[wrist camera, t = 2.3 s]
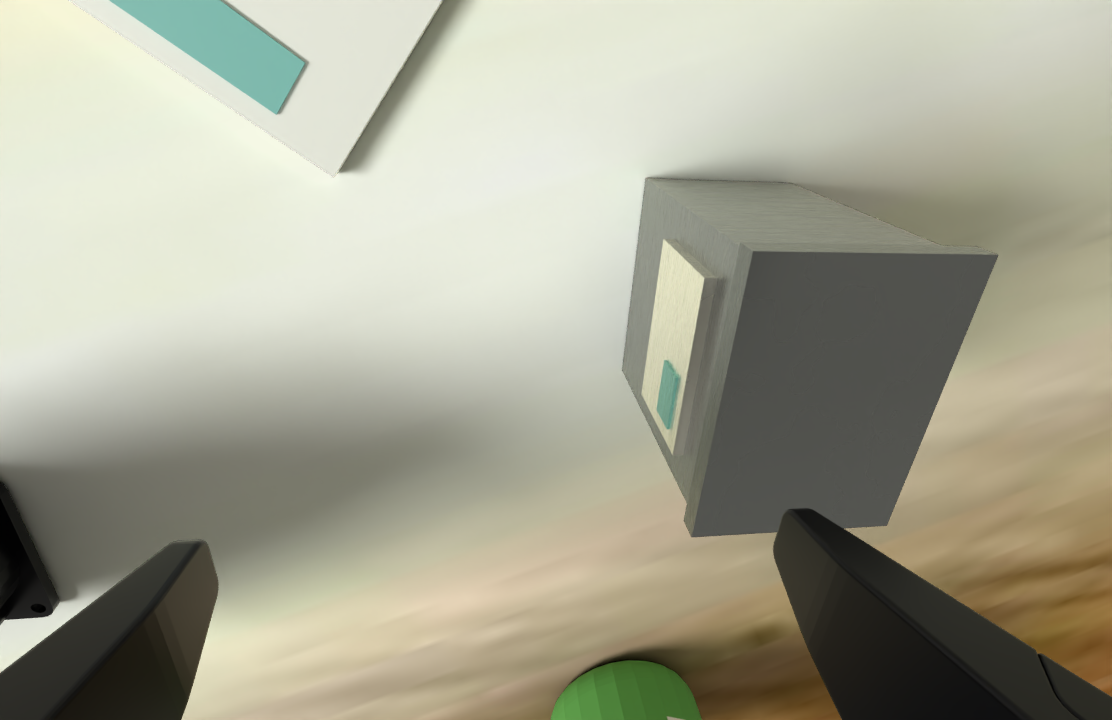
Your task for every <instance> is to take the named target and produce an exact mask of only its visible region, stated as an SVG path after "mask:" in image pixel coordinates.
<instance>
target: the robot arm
mask: <svg viewBox="0 0 1112 720" xmlns="http://www.w3.org/2000/svg"><path fill="white" fill-rule="evenodd" d="M773 553H774V559H775V562H776V565H777V567H778V570H779V573H780V576H781V578H782V581H783V584H784V587H785V589H786V592H787V595H788V597H789V600H790V603H791V606H792V608H793V611H794V614H795V617H796V619H797V622H798V625H799V627H800V630H801V633H802V635H803V638H804V640H805V643H806V645H807V648H808V650H809V652H810V654H811V656H812V659H813V661H814V663H815V665H816V667H817V669H818V671H819V673H820V675H821V677H822V679H823V681H824V683H825V686H826V688H827V690H828V692H829V694H830V696H831V698H832V700H833V702H834V704H835V706H836V708H837V710H838V712H839V714H840V717H841V719H842V720H1112V697H1111V696H1109V695H1108V694H1106V693H1105V692H1103V691H1101V690H1100V689H1098V688H1096V687H1095V686H1093V685H1092V684H1090V683H1088V682H1087V681H1085V680H1083V679H1082V678H1080V677H1078V676H1077V675H1075V674H1074V673H1072V672H1070V671H1069V670H1067V669H1066V668H1064V667H1062V666H1061V665H1059V664H1058V663H1056V662H1054V661H1053V660H1051V659H1050V658H1048V657H1047V656H1045V655H1043V654H1041V653H1040V654H1037V652H1036V650H1035V649H1034V648H1032V647H1030V646H1029V645H1027V644H1026V643H1024V642H1023V641H1021V640H1019V639H1018V638H1016V637H1015V636H1013V635H1011V634H1010V633H1008V632H1007V631H1005V630H1003V629H1002V628H1000V627H999V626H997V625H996V624H994V623H992V622H991V621H989V620H988V619H986V618H984V617H983V616H981V615H980V614H978V613H977V612H975V611H973V610H972V609H970V608H969V607H967V606H965V605H964V604H962V603H961V602H959V601H957V600H956V599H954V598H953V597H951V596H950V595H948V594H946V593H945V592H943V591H942V590H940V589H938V588H937V587H935V586H934V585H932V584H930V583H929V582H927V581H926V580H924V579H923V578H921V577H919V576H918V575H916V574H915V573H913V572H911V571H910V570H908V569H907V568H905V567H903V566H902V565H900V564H899V563H897V562H896V561H894V560H892V559H891V558H889V557H888V556H886V555H884V554H883V553H881V552H880V551H878V550H877V549H875V548H873V547H872V546H870V545H869V544H867V543H865V542H864V541H862V540H861V539H859V538H857V537H856V536H854V535H853V534H851V533H850V532H848V531H846V530H845V529H843V528H842V527H840V526H838V525H837V524H835V523H834V522H832V521H830V520H829V519H827V518H826V517H824V516H823V515H821V514H819V513H818V512H816V511H814V510H813V509H810V508H797V509H788V510H786V511H785V512H784V513H783V516H782V519H781V522H780V525H779V529H778V532H777V535H776V538H775V542H774V546H773ZM217 595H218V577H217V574H216V570H215V567H214V563H213V560H212V556H211V553H210V550H209V547H208V544H207V543H206V542H205V541H204V540H181V541H174V542H172V543H170V544H169V545H167V546H166V547H164V548H163V549H162V550H161V551H159V552H158V553H157V554H155V555H154V556H153V557H151V558H150V559H149V560H147V561H146V562H145V563H144V564H142V565H141V566H140V567H138V568H137V569H136V570H134V571H133V572H132V573H130V574H129V575H128V576H126V577H125V578H124V579H123V580H121V581H120V582H119V583H117V584H116V585H115V586H113V587H112V588H111V589H109V590H108V591H107V592H106V593H104V594H103V595H102V596H100V597H99V598H98V599H96V600H95V601H94V602H92V603H91V604H90V605H89V606H87V607H86V608H85V609H83V610H82V611H81V612H79V613H78V614H77V615H75V616H74V617H73V618H71V619H70V620H69V621H68V622H66V623H65V624H64V625H62V626H61V627H60V628H58V629H57V630H56V631H54V632H53V633H52V634H51V635H49V636H48V637H47V638H45V639H44V640H43V641H41V642H40V643H39V644H37V645H36V646H35V647H34V648H32V649H31V650H30V651H28V652H27V653H26V654H24V655H23V656H22V657H20V658H19V659H18V660H16V661H15V662H14V663H13V664H11V665H10V666H9V667H7V668H6V669H5V670H3V671H2V672H1V673H0V720H181V719H182V716H183V713H184V711H185V708H186V705H187V702H188V699H189V696H190V693H191V689H192V686H193V683H194V679H195V675H196V672H197V668H198V664H199V661H200V657H201V654H202V650H203V646H204V643H205V639H206V635H207V632H208V628H209V624H210V621H211V617H212V613H213V610H214V606H215V603H216V599H217ZM58 604H59V598H58V596H57V594H56V591H55V589H54V587H53V585H52V583H51V581H50V579H49V577H48V574H47V572H46V570H45V568H44V566H43V564H42V562H41V560H40V557H39V555H38V553H37V551H36V549H35V547H34V545H33V543H32V540H31V538H30V536H29V534H28V532H27V530H26V528H25V526H24V523H23V521H22V519H21V517H20V515H19V513H18V511H17V508H16V506H15V504H14V502H13V500H12V498H11V496H10V494H9V491H8V489H7V488H6V487H5V485H4V484H2V483H1V482H0V625H1V623H2V622H3V621H4V620H9V619H24V618H38V617H46V616H49V615H51V614H52V613H53V611H54V610H55V609H56V607H57V606H58Z"/></svg>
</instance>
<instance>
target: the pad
mask: <svg viewBox="0 0 1112 720" xmlns="http://www.w3.org/2000/svg"><path fill="white" fill-rule="evenodd" d="M68 1H70V2H71V3H73V4H74V5H76V6H77V7H79V8H80V9H82V10H83V11H85V12H86V13H88V14H89V15H91V16H92V17H94V18H95V19H97V20H98V21H100V22H101V23H103V24H104V25H106V26H107V27H109V28H110V29H112V30H113V31H115V32H116V33H118V34H119V35H121V36H122V37H124V38H125V39H127V40H128V41H130V42H131V43H133V44H134V45H136V46H137V47H139V48H140V49H142V50H143V51H145V52H146V53H148V54H149V55H151V56H152V57H154V58H155V59H157V60H158V61H160V62H161V63H163V64H164V65H166V66H167V67H169V68H170V69H172V70H173V71H175V72H176V73H178V74H179V75H181V76H182V77H184V78H185V79H187V80H188V81H190V82H191V83H193V84H194V85H196V86H197V87H199V88H200V89H202V90H203V91H205V92H206V93H208V94H209V95H211V96H212V97H214V98H215V99H217V100H218V101H220V102H221V103H223V104H224V105H226V106H227V107H229V108H230V109H232V110H233V111H235V112H236V113H238V114H239V115H241V116H242V117H244V118H245V119H247V120H248V121H250V122H251V123H253V124H254V125H256V126H257V127H259V128H260V129H262V130H263V131H265V132H266V133H268V134H269V135H271V136H272V137H274V138H275V139H277V140H278V141H280V142H281V143H283V144H284V145H286V146H287V147H289V148H290V149H292V150H293V151H295V152H296V153H298V154H299V155H301V156H302V157H304V158H305V159H307V160H308V161H310V162H311V163H313V164H314V165H316V166H317V167H318V168H320V169H321V170H323V171H324V172H326V173H327V174H329V175H330V176H332V177H333V178H334V177H335V176H336V175H337V174H338V172H339V170H340V169H341V167H342V166H343V164H344V162H345V161H346V159H347V157H348V156H349V154H350V153H351V151H352V149H353V148H354V146H355V144H356V143H357V141H358V139H359V138H360V136H361V135H362V133H363V131H364V130H365V128H366V126H367V125H368V123H369V121H370V120H371V118H372V117H373V115H374V113H375V112H376V110H377V108H378V107H379V105H380V103H381V102H382V100H383V99H384V97H385V95H386V94H387V92H388V90H389V89H390V87H391V86H392V84H393V82H394V81H395V79H396V77H397V76H398V74H399V72H400V71H401V69H402V68H403V66H404V64H405V63H406V61H407V59H408V58H409V56H410V54H411V53H412V51H413V50H414V48H415V46H416V45H417V43H418V41H419V40H420V38H421V36H422V35H423V33H424V32H425V30H426V28H427V27H428V25H429V23H430V22H431V20H432V19H433V17H434V15H435V14H436V12H437V10H438V9H439V7H440V5H441V4H442V2H443V1H444V0H68Z"/></svg>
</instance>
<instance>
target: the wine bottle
mask: <svg viewBox="0 0 1112 720" xmlns="http://www.w3.org/2000/svg"><path fill="white" fill-rule="evenodd" d="M551 720H702V719H701V716H700V713H699V710H698V707H697V704H696V702H695V699H694V696H693V694H692V692H691V690H690V688H689V687H688V685H687V684H686V683H685V682H684V681H683V680H682V679H681V678H680V676H679V675H678V674H677V673H676V672H674V671H673V670H671V669H669V668H667V667H665V666H663V665H661V664H658V663H653V662H649V661H640V660H626V661H620V662H614V663H609V664H606V665H603V666H600V667H597V668H594V669H592V670H591V671H589V672H587V673H585V674H583V675H581V676H579V677H578V678H577V679H576V680H575V681H573V682H572V683H571V684H570V685H568V686H567V687H566V689H565V690H564V691H563V693H562V694H561V695H560V697H559V698H558V699H557V701H556V704H555V707H554V710H553V713H552V716H551Z"/></svg>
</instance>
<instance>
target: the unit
mask: <svg viewBox="0 0 1112 720" xmlns="http://www.w3.org/2000/svg"><path fill="white" fill-rule="evenodd" d="M997 257H998V254H995V253H993V252H990V251H988V250H985V249H982V248H980V247H977V246H942V245H939V244H937V243H935V242H932V241H930V240H927V239H925V238H922V237H920V236H918V235H915V234H913V233H910V232H908V231H906V230H903V229H901V228H898V227H896V226H894V225H891V224H889V223H886V222H884V221H882V220H879V219H877V218H874V217H872V216H869V215H867V214H865V213H862V212H860V211H857V210H855V209H853V208H850V207H848V206H845V205H843V204H841V203H838V202H836V201H833V200H831V199H829V198H826V197H824V196H821V195H819V194H817V193H814V192H812V191H809V190H807V189H804V188H802V187H800V186H797V185H795V184H792V183H777V182H747V181H716V180H686V179H655V178H646V179H645V187H644V195H643V204H642V212H641V220H640V228H639V236H638V245H637V253H636V261H635V269H634V277H633V285H632V294H631V302H630V310H629V318H628V326H627V335H626V343H625V351H624V359H623V367H622V371H623V373H624V375H625V377H626V379H627V381H628V383H629V385H630V387H631V390H632V392H633V394H634V396H635V398H636V400H637V402H638V404H639V406H640V408H641V410H642V412H643V414H644V416H645V418H646V420H647V422H648V424H649V426H650V428H651V431H652V433H653V435H654V437H655V439H656V441H657V443H658V445H659V447H660V449H661V451H662V453H663V455H664V457H665V459H666V461H667V463H668V465H669V467H670V470H671V472H672V474H673V476H674V478H675V480H676V482H677V484H678V486H679V488H680V490H681V492H682V494H683V496H684V498H685V500H686V502H687V507H686V512H685V517H684V522H685V524H686V527H687V529H688V531H689V533H690V535H691V537H704V536H721V535H738V534H755V533H772V532H778V529H779V525H780V522H781V519H782V516H783V513H784V512H785V511H786V510H788V509H797V508H810V509H813V510H814V511H816V512H818V513H819V514H821V515H823V516H824V517H826V518H827V519H829V520H830V521H832V522H834V523H835V524H837V525H838V526H840V527H842V528H857V527H873V526H887V524H888V521H889V519H890V516H891V514H892V512H893V509H894V507H895V504H896V502H897V499H898V497H899V495H900V492H901V490H902V487H903V485H904V483H905V480H906V478H907V475H908V473H909V470H910V468H911V466H912V463H913V461H914V458H915V456H916V453H917V451H918V449H919V446H920V444H921V441H922V439H923V436H924V434H925V432H926V429H927V427H928V424H929V422H930V419H931V417H932V415H933V412H934V410H935V407H936V405H937V402H938V400H939V398H940V395H941V393H942V390H943V388H944V386H945V383H946V381H947V378H948V376H949V373H950V371H951V369H952V366H953V364H954V361H955V359H956V356H957V354H958V352H959V349H960V347H961V344H962V342H963V339H964V337H965V335H966V332H967V330H968V327H969V325H970V322H971V320H972V318H973V315H974V313H975V310H976V308H977V305H978V303H979V301H980V298H981V296H982V293H983V291H984V289H985V286H986V284H987V281H988V279H989V276H990V274H991V272H992V269H993V267H994V264H995V262H996V259H997Z"/></svg>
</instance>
